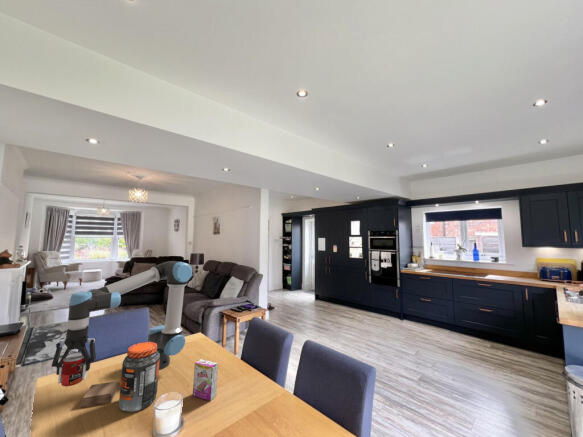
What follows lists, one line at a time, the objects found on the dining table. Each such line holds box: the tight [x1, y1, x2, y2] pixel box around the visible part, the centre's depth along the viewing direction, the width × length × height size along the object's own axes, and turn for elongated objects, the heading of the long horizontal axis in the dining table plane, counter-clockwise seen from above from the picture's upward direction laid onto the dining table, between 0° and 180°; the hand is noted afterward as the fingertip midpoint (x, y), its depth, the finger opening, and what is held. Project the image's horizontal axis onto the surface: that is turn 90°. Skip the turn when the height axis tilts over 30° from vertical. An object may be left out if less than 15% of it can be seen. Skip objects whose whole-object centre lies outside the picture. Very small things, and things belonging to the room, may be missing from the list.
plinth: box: [79, 380, 120, 409], centre depth 121 cm, size 12×12×4 cm
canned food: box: [60, 351, 86, 387], centre depth 110 cm, size 8×8×11 cm
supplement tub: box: [118, 341, 160, 413], centre depth 120 cm, size 16×16×26 cm
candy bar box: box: [192, 358, 219, 402], centre depth 125 cm, size 11×5×16 cm, turn 71°
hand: (72, 379), depth 110 cm, fingers closed on canned food, 8 cm apart
